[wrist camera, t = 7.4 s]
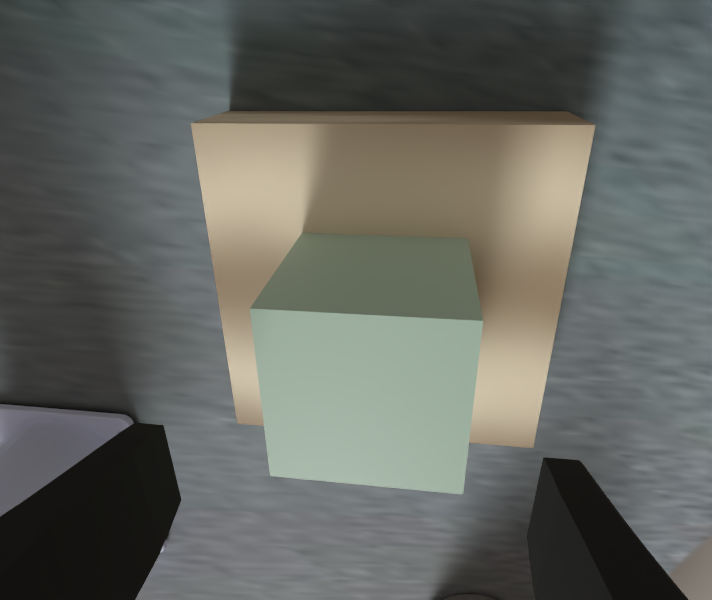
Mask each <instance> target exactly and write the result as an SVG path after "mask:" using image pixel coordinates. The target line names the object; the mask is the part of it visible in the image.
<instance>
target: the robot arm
mask: <svg viewBox="0 0 712 600" xmlns="http://www.w3.org/2000/svg"><path fill="white" fill-rule="evenodd" d="M180 502H181V497H180V492H179V488H178V484H177V480H176V476H175V472H174V467H173V463H172V459H171V455H170V451H169V447H168V442H167V438H166V434H165V430H164V426H163V425H154V424H143V423H133V421H132V419H131V418H130V417H129V416H127V415H123V414H114V413H102V412H90V411H78V410H66V409H54V408H42V407H30V406H18V405H6V404H0V600H135V599H136V597H137V595H138V593H139V591H140V589H141V588H142V586H143V584H144V582H145V580H146V578H147V576H148V575H149V573H150V571H151V569H152V567H153V565H154V563H155V561H156V559H157V558H158V556H159V554H160V553H161V552H163V551H164V549H165V547H166V546H167V542H166V538H167V535H168V533H169V530H170V528H171V525H172V523H173V520H174V517H175V515H176V512H177V510H178V507H179V504H180ZM527 539H528V547H529V556H530V564H531V572H532V580H533V587H534V595H535V600H688V599H687V597H686V596H685V595H684V594H683V593H682V591H681V590H680V589H679V588H678V587H677V585H676V584H675V583H674V582H673V581H672V579H671V578H670V577H669V576H668V574H667V573H666V572H665V571H664V569H663V568H662V567H661V566H660V565H659V563H658V562H657V561H656V560H655V558H654V557H653V556H652V555H651V553H650V552H649V551H648V550H647V549H646V547H645V546H644V545H643V543H642V542H641V541H640V540H639V538H638V537H637V536H636V535H635V533H634V532H633V531H632V529H631V528H630V527H629V525H628V524H627V523H626V521H625V520H624V519H623V518H622V516H621V515H620V514H619V512H618V511H617V510H616V508H615V507H614V506H613V504H612V503H611V502H610V500H609V499H608V498H607V496H606V495H605V494H604V492H603V491H602V490H601V488H600V487H599V485H598V484H597V483H596V481H595V480H594V479H593V477H592V476H591V475H590V473H589V472H588V470H587V469H586V468H585V466H584V465H583V464H582V463H581V462H580V461H579V460H568V459H556V458H544V457H543V462H542V467H541V471H540V476H539V481H538V486H537V491H536V495H535V500H534V505H533V510H532V515H531V520H530V524H529V529H528V534H527Z"/></svg>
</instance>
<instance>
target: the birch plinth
mask: <svg viewBox="0 0 712 600" xmlns="http://www.w3.org/2000/svg"><path fill="white" fill-rule="evenodd" d="M191 126H192V133H193V139H194V146H195V152H196V159H197V165H198V172H199V178H200V185H201V191H202V198H203V204H204V210H205V217H206V223H207V230H208V236H209V243H210V249H211V256H212V262H213V269H214V275H215V282H216V288H217V294H218V301H219V307H220V314H221V320H222V327H223V333H224V340H225V346H226V353H227V359H228V366H229V372H230V378H231V385H232V391H233V398H234V404H235V411H236V417H237V423H238V424H250V425H262V426H264V421H263V413H262V405H261V397H260V389H259V381H258V373H257V365H256V357H255V348H254V340H253V332H252V324H251V316H250V307H251V306H252V304H253V303H254V301H255V300H256V299H257V297H258V296H259V294H260V293H261V291H262V290H263V288H264V287H265V286H266V284H267V283H268V281H269V280H270V278H271V277H272V275H273V274H274V272H275V271H276V270H277V268H278V267H279V265H280V264H281V262H282V261H283V259H284V258H285V257H286V255H287V254H288V252H289V251H290V249H291V248H292V246H293V245H294V244H295V242H296V241H297V239H298V238H299V236H300V235H301V233H324V234H355V235H385V236H415V237H446V238H468V242H469V247H470V252H471V258H472V263H473V269H474V274H475V279H476V285H477V290H478V296H479V301H480V306H481V312H482V317H483V327H482V335H481V344H480V353H479V361H478V370H477V378H476V387H475V395H474V404H473V413H472V421H471V430H470V438H469V443H479V444H491V445H503V446H515V447H527V448H533V446H534V441H535V436H536V431H537V425H538V420H539V415H540V410H541V405H542V399H543V394H544V389H545V384H546V379H547V374H548V368H549V363H550V358H551V353H552V348H553V343H554V337H555V332H556V327H557V322H558V317H559V311H560V306H561V301H562V296H563V291H564V286H565V280H566V275H567V270H568V265H569V260H570V255H571V249H572V244H573V239H574V234H575V229H576V223H577V218H578V213H579V208H580V203H581V198H582V192H583V187H584V182H585V177H586V172H587V167H588V161H589V156H590V151H591V146H592V141H593V135H594V130H595V125H594V124H592V123H590V122H588V121H586V120H584V119H582V118H580V117H578V116H576V115H574V114H572V113H570V112H568V111H227V112H224V113H221V114H218V115H215V116H212V117H209V118H206V119H203V120H200V121H196V122H193V123H191Z"/></svg>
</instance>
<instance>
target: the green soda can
mask: <svg viewBox="0 0 712 600" xmlns="http://www.w3.org/2000/svg"><path fill="white" fill-rule="evenodd" d="M443 600H497V599H494V598H491V597H488V596H485V595H477V594H458V595H454V596H450V597H447V598H444V599H443Z"/></svg>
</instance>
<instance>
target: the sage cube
mask: <svg viewBox="0 0 712 600" xmlns="http://www.w3.org/2000/svg"><path fill="white" fill-rule="evenodd" d="M250 316H251V324H252V332H253V340H254V348H255V357H256V365H257V373H258V381H259V389H260V397H261V405H262V413H263V421H264V429H265V437H266V445H267V454H268V462H269V470H270V476H276V477H287V478H297V479H308V480H318V481H328V482H339V483H349V484H360V485H370V486H380V487H391V488H401V489H412V490H422V491H433V492H443V493H453V494H463V490H464V481H465V473H466V464H467V456H468V447H469V438H470V430H471V421H472V413H473V404H474V395H475V387H476V378H477V370H478V361H479V353H480V344H481V335H482V327H483V317H482V312H481V306H480V301H479V296H478V290H477V285H476V279H475V274H474V269H473V263H472V258H471V252H470V247H469V242H468V238H446V237H415V236H385V235H355V234H324V233H301V235H300V236H299V238H298V239H297V241H296V242H295V244H294V245H293V246H292V248H291V249H290V251H289V252H288V254H287V255H286V257H285V258H284V259H283V261H282V262H281V264H280V265H279V267H278V268H277V270H276V271H275V272H274V274H273V275H272V277H271V278H270V280H269V281H268V283H267V284H266V286H265V287H264V288H263V290H262V291H261V293H260V294H259V296H258V297H257V299H256V300H255V301H254V303H253V304H252V306H251V307H250Z"/></svg>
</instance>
